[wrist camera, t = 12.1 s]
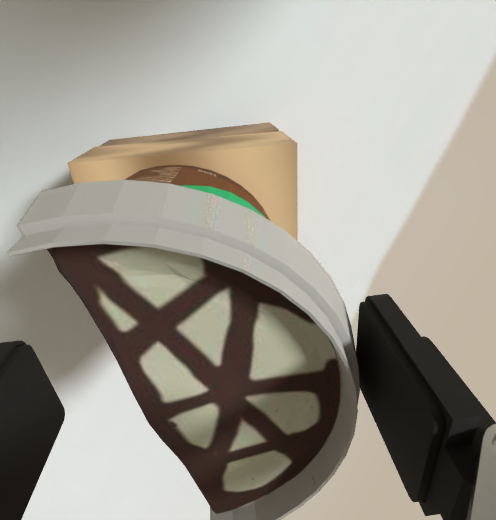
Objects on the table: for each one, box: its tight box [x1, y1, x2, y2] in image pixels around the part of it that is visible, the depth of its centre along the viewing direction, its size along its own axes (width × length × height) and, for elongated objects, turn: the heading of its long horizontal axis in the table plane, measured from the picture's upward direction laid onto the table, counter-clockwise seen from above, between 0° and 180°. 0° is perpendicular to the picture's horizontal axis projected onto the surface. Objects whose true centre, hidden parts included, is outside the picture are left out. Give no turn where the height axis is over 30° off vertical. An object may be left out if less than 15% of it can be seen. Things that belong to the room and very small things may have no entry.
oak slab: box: [68, 131, 297, 240], centre depth 19 cm, size 10×10×4 cm
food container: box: [7, 165, 360, 520], centre depth 13 cm, size 12×6×10 cm, turn 16°
